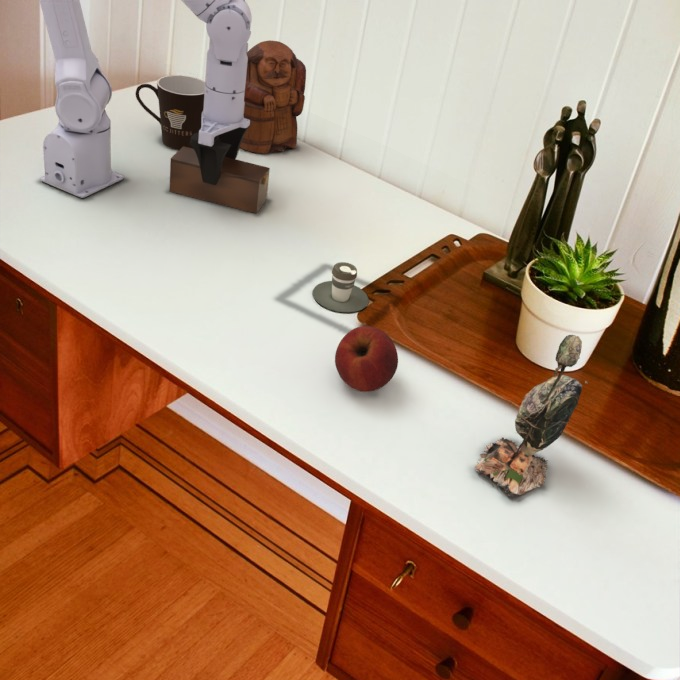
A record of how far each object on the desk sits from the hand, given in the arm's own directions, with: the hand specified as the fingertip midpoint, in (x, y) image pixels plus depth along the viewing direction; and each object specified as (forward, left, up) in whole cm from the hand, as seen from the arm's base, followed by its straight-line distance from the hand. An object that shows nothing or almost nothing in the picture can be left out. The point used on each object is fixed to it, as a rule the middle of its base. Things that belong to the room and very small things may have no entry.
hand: (218, 173), depth 135 cm
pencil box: (0, 0, -4) cm, 4 cm away
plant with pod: (-30, -61, -4) cm, 68 cm away
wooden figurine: (+22, +5, -4) cm, 23 cm away
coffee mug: (+12, +17, -4) cm, 21 cm away
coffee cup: (-13, -29, -4) cm, 32 cm away
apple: (-28, -40, -4) cm, 49 cm away
